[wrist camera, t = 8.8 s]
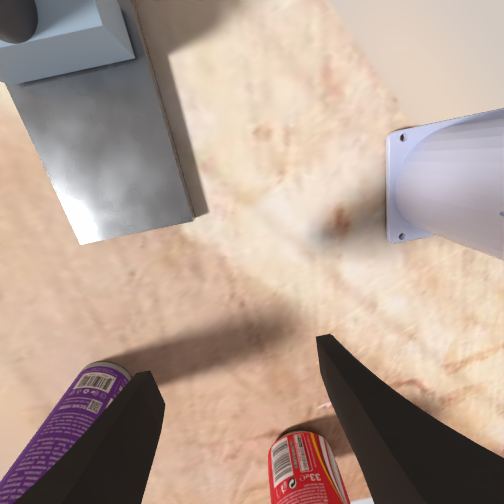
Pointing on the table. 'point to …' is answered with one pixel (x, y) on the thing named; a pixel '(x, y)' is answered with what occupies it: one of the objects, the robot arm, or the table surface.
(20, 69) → the sliding jaw
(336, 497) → the soda can
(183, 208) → the base
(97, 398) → the container
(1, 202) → the table surface
